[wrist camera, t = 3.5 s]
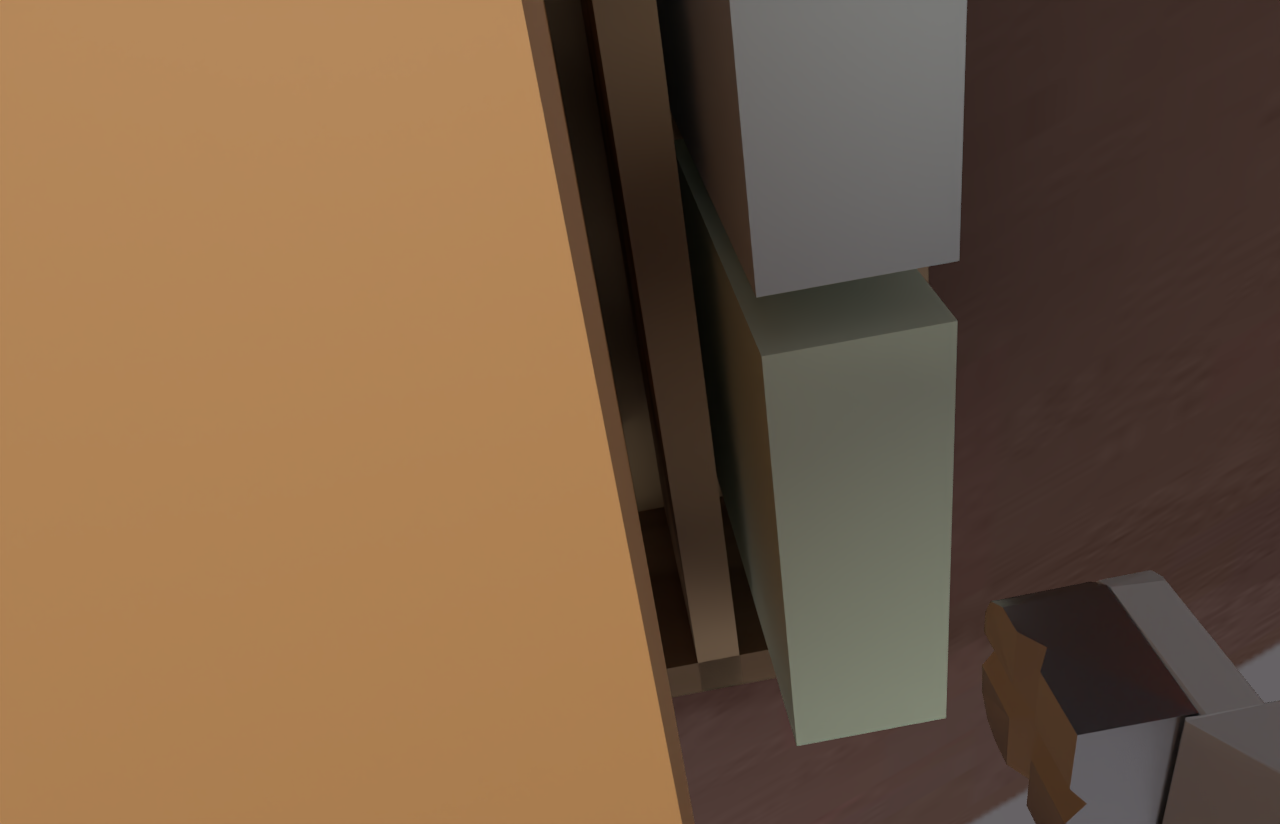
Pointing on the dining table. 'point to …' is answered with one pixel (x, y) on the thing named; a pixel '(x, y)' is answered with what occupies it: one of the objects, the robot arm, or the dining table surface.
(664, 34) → the offcut slate
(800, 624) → the offcut sage
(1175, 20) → the dining table surface
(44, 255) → the tall sheet
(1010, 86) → the dining table surface
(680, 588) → the rack
